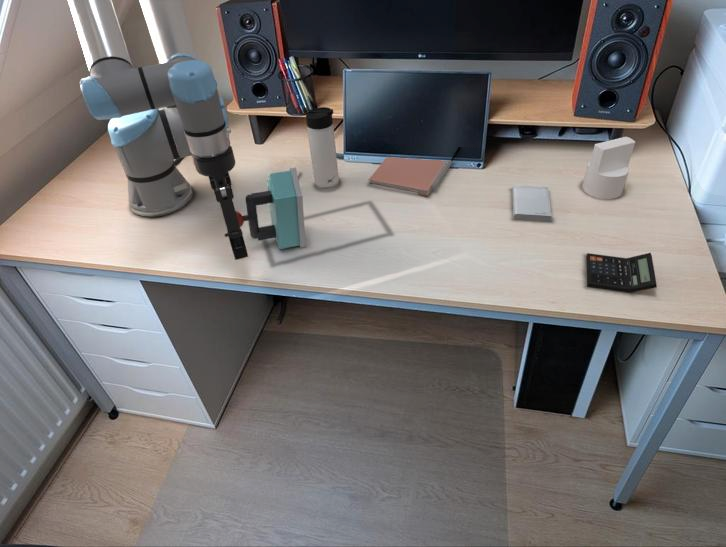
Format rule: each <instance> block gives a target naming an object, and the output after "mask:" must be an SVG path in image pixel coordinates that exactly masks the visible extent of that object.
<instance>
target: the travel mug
mask: <svg viewBox="0 0 726 547" xmlns="http://www.w3.org/2000/svg"><path fill="white" fill-rule="evenodd" d="M333 114H334V109H333V108H330V107H327V106H326V107H325V106H320V107H316V108H313V109H310V110H309V111H308V112H307V113H306V115H305V123H306V130H307V137H308V145H309V152H310V159H311V167H312V173H313V182H314V186H315V187H316V188H317V189H319V190H331V189H335V188H337V186H338V185H340V179H339V178H340V177H339V167H338V158H337V148H336V138H335V129H334V122H333V121H334V120H333Z"/></svg>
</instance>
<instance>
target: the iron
mask: <svg viewBox="0 0 726 547" xmlns="http://www.w3.org/2000/svg"><path fill="white" fill-rule="evenodd" d="M297 173H298V170H297V167H290V168H289V170H284V171H278V172H271V173H269V177H268V179H267V180H266V184H267V190H264V191H258V192H251V193H248V194H247V195H246V196H245V198H244V200H245V207H246V214H244V215H243V214H242V213H241V212H240V211H238V210H235V211H236V214H237V218H238V222H239V225H240V228H242V227H243V225H244V223H245V222H248V228H249V234H250V237H251V238H252V239H253V240H254V239H255V240H256V239H257V241H258V242H259V241H264V240H265V241H266V240H269V239H270V240H271V239H275V240H276V243H277V246H278V249H279V250H284V249H288V248H289V249H290V248H293V247H299V248H300V249H302V248H306V246H307V244H306V230H305V228H306V227H305V214H304V197H303V192H302V188H301V184H300V179H299V176H298V174H297ZM266 204H269V212H270V221H271V225H266V226H260V224H259V219H258V209H257V206H261V205H266Z"/></svg>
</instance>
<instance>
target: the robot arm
mask: <svg viewBox="0 0 726 547" xmlns="http://www.w3.org/2000/svg"><path fill="white" fill-rule="evenodd" d="M67 2H68V6H69V8H70V12H71V15H72V18H73V22H74V25H75V28H76V31H77V36H78V39H79V42H80V45H81V48H82V51H83V55H84V58H85V61H86V62H85V63H86V65H87V68H88V72H89V75H88V76H87V77H84V78H81V79H80V80H79V87H80V91H81V95H82V97H83V100H84V102H85V105H86V107H87V110H88V111H89V113H90V115H91V116H92V117H93V118H94V119H96V120H98V121H102V120H109V122H108V124H107V131H108V134H109V138H110V140H111V145H112V146H113V147H114V150H115V152H116V155H117V156H118V159H119V162H120V164H121V166H122V169H123V172H124V173H125V177H126V179H127V190H128V192H127V193H128V205H129V207H130V209H131V210H132V212H133V213H134V214H136V215H138V216H140V217H147V218H148V217H149V218H151V217H153V218H154V217H162V216H165V215H169V214H172V213H175V212H177V211H179V210H181V209H182V208H184V207H185V206H187V204H189V202H190V201H191V200H192V197H193V190H192V187H191V184H190V183H189V181H188V180H187V179H186V178H185V177H184V175H183V173H182V172H181V171H180V170H179V169H178V168H177V166H176V164H177V163H178V162H179V161H180V160H181V159H183V158H187V157H191V158H192V160H193V164H194V167H195V171H196V172H197V173H198V174H199V175H201V176H203V177H208V180H209V184H210V187H211V190H212V191H213V193H214V194H213V195H214V197H215V200H216V202H217V203H218V204H219V206H220V208H221V213H222V217H223V219H224V223H225V226H226V230H227V232H226V233H224V237H225V238H228V239H229V243H230V246H231V250H232V253H233V254H232V255H233V257H234V260H235V261H236V260H240V259H245V258H249V254H248V250H247V246H246V242H245V239H244V236H243V230H242V228H241V227H240V225H239V222H238V218H237V214H236V211H237V210H236V208H235V204H234V198H235V196H234V191H233V188H232V183H233V182H232V179H231V176H230V173H229V172H231V171H232V170H233V169H234V168H235V166H236V158H235V155H234V151H233V150H234V149H233V147H232V145H231V140H230V134H231V133H232V130H231V128H230V127H229V120H228V114H227V110H226V105H225V101H224V98H222V97H221V96H220V95H219V90H218V83H217V82H218V81H217V80H216V78H215V75H214V71H213V69H212V67H211V65H210V64H209V63H208V62H206V61H202V60H201V59H199V57H198V54H197V50H196V47H195V44H194V40H193V37H192V33H191V30H190V26H189V22H188V18H187V15H186V12H185V8H184V5H183V2H182V0H138V2H139V4H140V7H141V10H142V13H143V16H144V20H145V23H146V26H147V29H148V32H149V36H150V38H151V43H152V46H153V48H154V52H155V54H156V57H157V60H158V63H155V64H152V65H147V66H146V65H145V66H140V67H135V68H134V65H133V63H132V60H131V56H130V53H129V51H128V47H127V44H126V41H125V38H124V34H123V32H122V28H121V25H120V22H119V19H118V16H117V13H116V9H115V7H114V3H113V0H67ZM164 107H166V109H163V110H158V109H159V108H164ZM171 131H172V132H171Z"/></svg>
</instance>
